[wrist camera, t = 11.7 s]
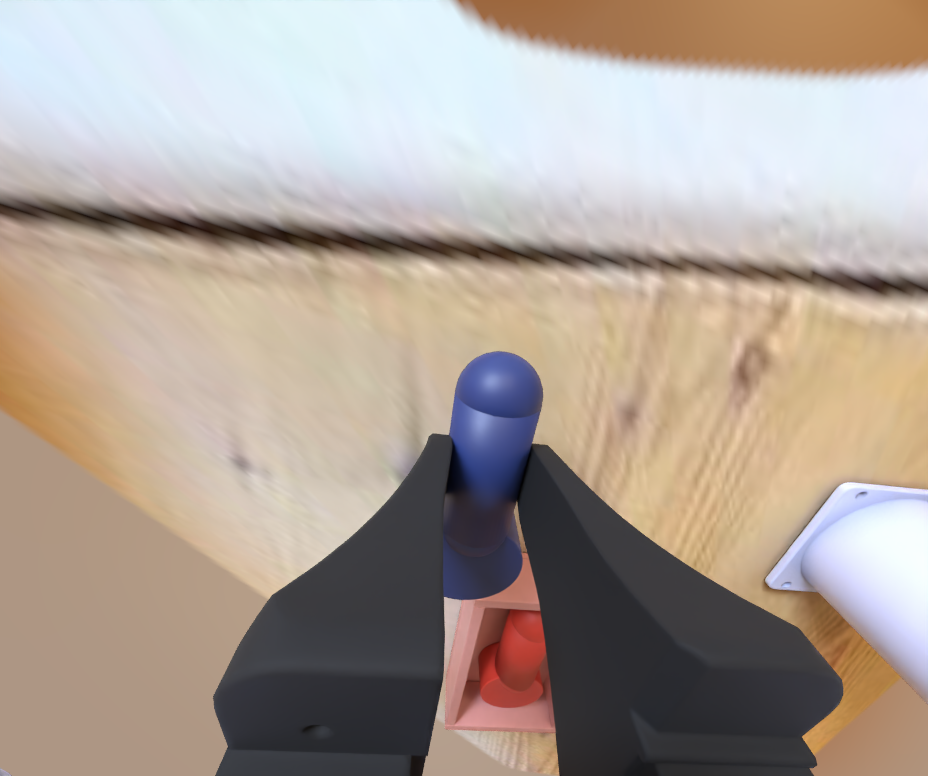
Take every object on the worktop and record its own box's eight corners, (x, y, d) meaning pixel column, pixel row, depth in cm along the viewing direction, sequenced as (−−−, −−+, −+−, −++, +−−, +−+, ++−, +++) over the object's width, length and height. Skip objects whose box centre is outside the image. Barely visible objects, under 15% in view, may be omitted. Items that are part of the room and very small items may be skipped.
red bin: (472, 548, 19) (475, 599, 17) (604, 558, 20) (626, 609, 17) (446, 677, 25) (444, 729, 23) (547, 681, 26) (558, 733, 23)
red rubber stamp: (499, 578, 20) (505, 626, 18) (566, 583, 20) (580, 630, 18) (474, 671, 24) (476, 719, 22) (529, 673, 24) (537, 721, 22)
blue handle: (438, 332, 11) (433, 363, 8) (562, 347, 11) (590, 382, 9) (415, 552, 15) (407, 613, 13) (505, 558, 15) (513, 619, 13)
